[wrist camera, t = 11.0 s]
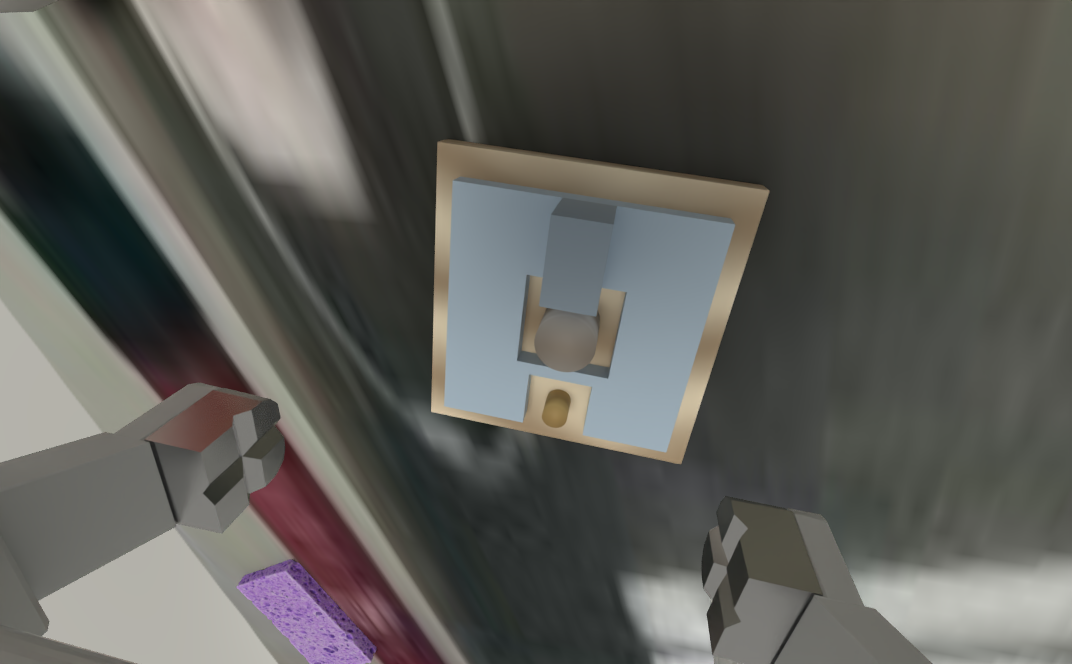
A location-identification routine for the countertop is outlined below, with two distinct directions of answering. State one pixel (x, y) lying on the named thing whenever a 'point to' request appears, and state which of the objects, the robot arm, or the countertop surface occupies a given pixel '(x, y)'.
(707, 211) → the post board
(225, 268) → the countertop surface
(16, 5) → the donut
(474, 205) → the flange plate
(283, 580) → the sponges
